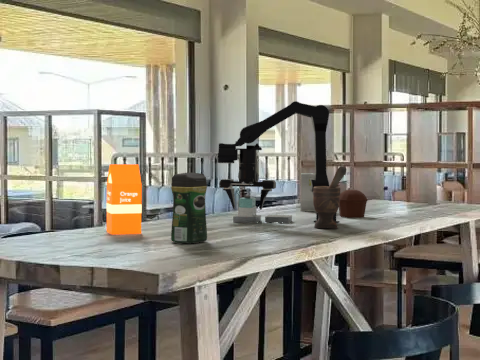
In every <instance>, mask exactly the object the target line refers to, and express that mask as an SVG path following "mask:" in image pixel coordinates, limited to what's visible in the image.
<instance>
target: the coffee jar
mask: <svg viewBox="0 0 480 360" xmlns="http://www.w3.org/2000/svg"><path fill="white" fill-rule="evenodd" d="M170 188H171V192H172V199H173V200H172V202H173V204H172V219H171V232H170V233H171V234H170V240H171V242H173V243H175V244H178V243H180V244H181V245H182V244H190V245H191V243H194V244H199V242H200V243H204V242H206V241H207V239H208V228H207V215H206V214H207V213H206V212H207V211H206V210H207V209H206V194H207V189H208V182H207V176H206V175H205V174H204V173H199V172H182V173H175V174H173V176H172V177H171V186H170Z"/></svg>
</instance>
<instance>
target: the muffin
mask: <svg viewBox="0 0 480 360" xmlns="http://www.w3.org/2000/svg"><path fill="white" fill-rule="evenodd" d="M368 200H369V199H368V198H367V196H366V195H365V194H364V192H362V191H361V190H358V189H345V190H343V191H342V192H340V204H339V208H338V212H339V213H338V214H339V217H340V216H341V218H346V217H347V219H348V218H350V219H361V218H365V214H366V208H367V203H368Z"/></svg>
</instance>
